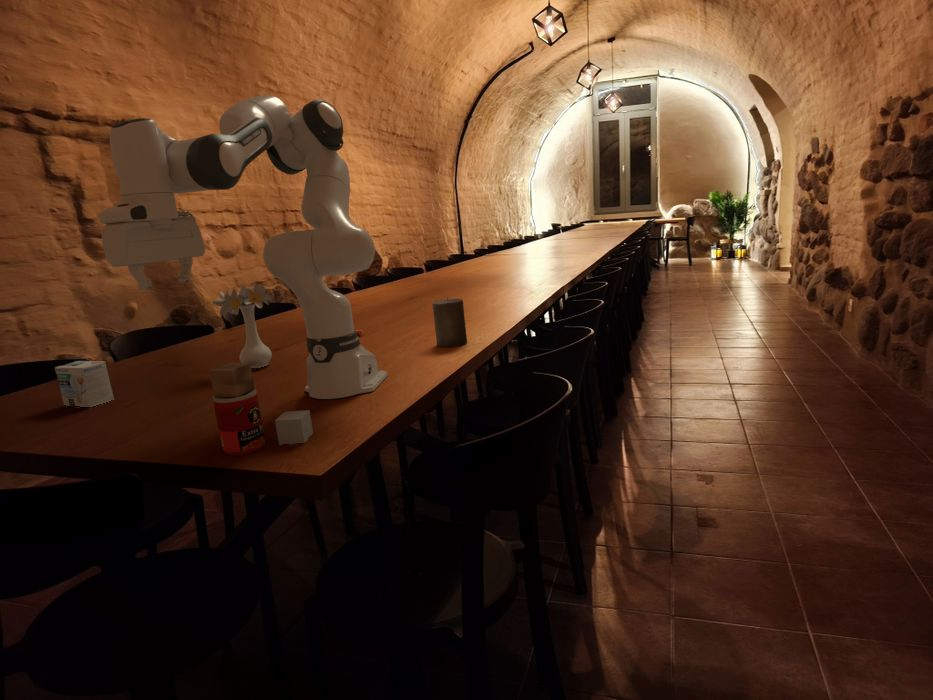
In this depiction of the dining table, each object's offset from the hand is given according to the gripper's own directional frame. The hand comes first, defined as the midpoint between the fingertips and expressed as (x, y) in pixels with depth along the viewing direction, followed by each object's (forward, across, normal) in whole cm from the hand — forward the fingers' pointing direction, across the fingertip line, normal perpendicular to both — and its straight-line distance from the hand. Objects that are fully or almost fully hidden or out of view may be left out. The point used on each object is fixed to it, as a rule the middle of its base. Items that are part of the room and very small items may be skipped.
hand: (166, 285), depth 110 cm
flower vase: (+31, -54, -28) cm, 68 cm away
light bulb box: (+31, -19, -53) cm, 65 cm away
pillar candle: (+31, -81, +26) cm, 91 cm away
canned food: (+31, +3, +14) cm, 34 cm away
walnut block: (+20, +3, +14) cm, 25 cm away
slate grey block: (+31, -2, +22) cm, 38 cm away
